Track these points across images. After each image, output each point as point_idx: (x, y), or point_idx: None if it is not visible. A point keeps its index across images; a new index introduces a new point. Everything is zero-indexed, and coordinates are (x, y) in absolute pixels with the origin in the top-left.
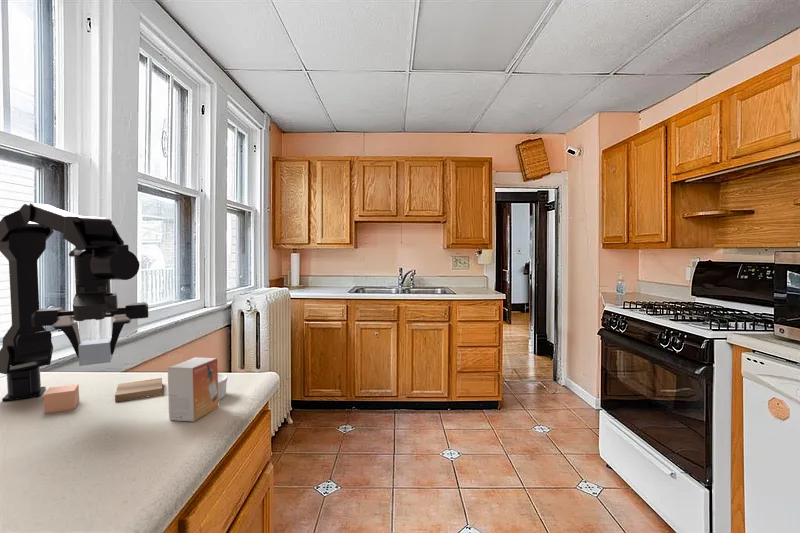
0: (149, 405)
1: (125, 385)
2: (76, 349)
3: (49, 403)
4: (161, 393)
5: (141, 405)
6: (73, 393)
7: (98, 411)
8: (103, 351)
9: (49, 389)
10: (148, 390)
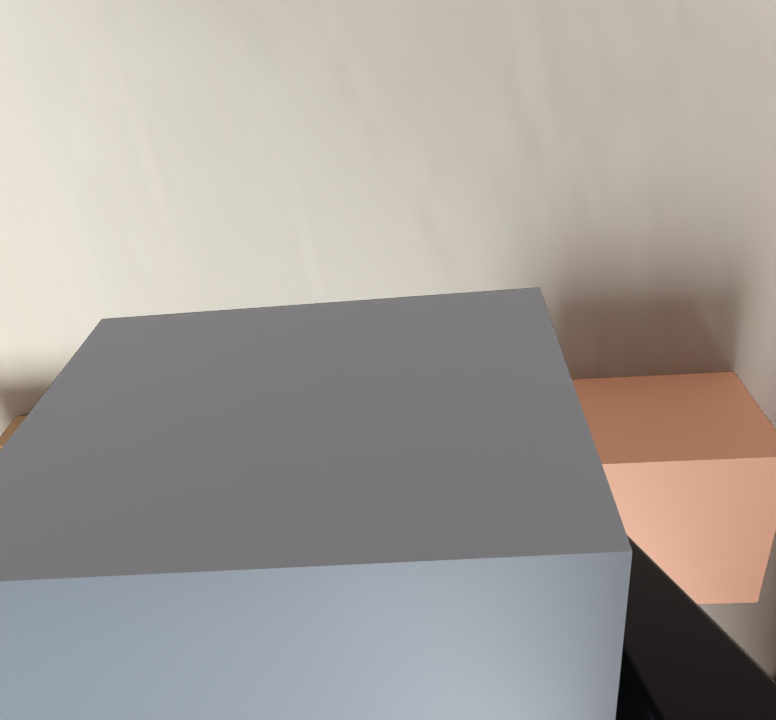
0: (28, 210)
1: None
2: (651, 597)
3: (727, 409)
4: (19, 421)
5: (94, 238)
6: None
7: (384, 242)
8: (122, 434)
9: (757, 562)
10: None
